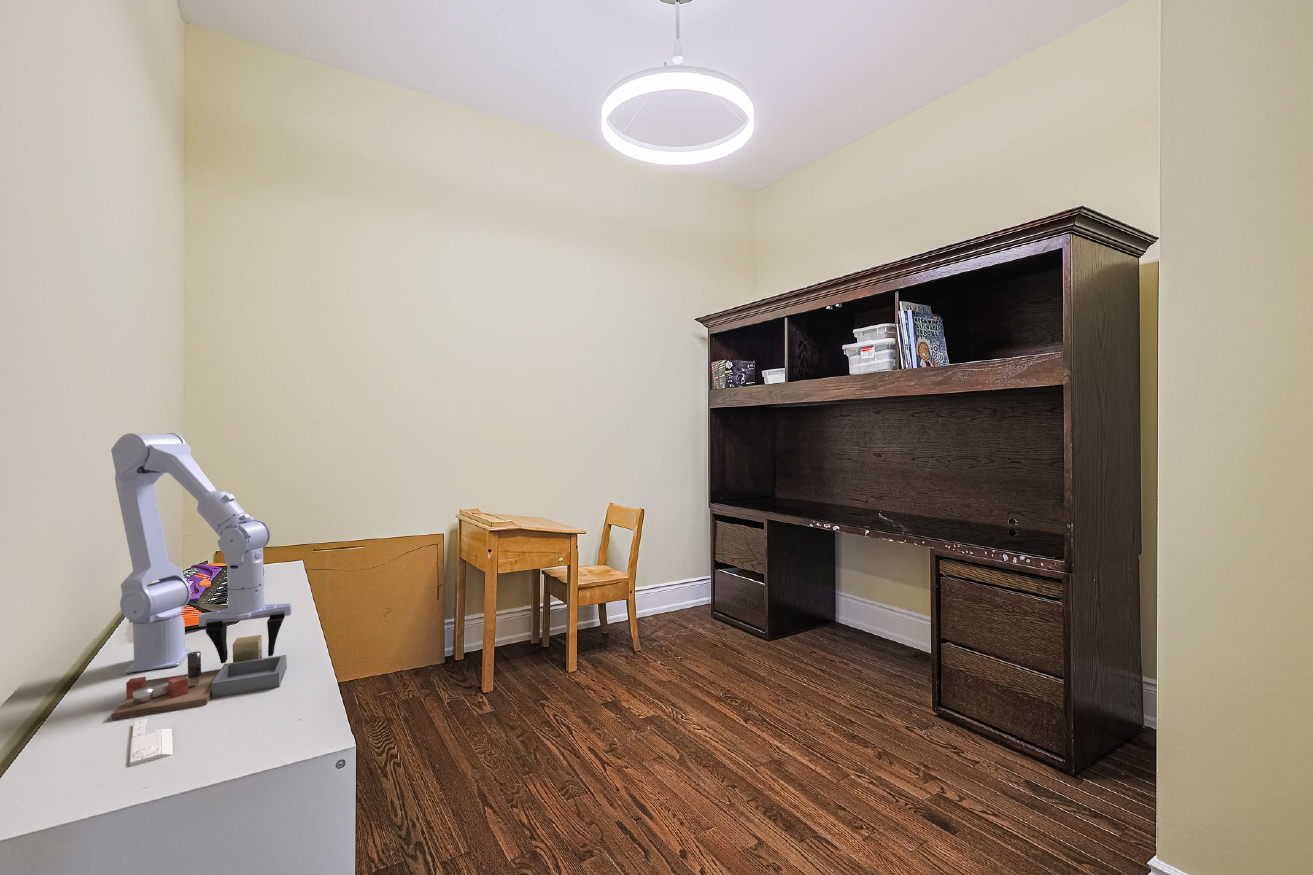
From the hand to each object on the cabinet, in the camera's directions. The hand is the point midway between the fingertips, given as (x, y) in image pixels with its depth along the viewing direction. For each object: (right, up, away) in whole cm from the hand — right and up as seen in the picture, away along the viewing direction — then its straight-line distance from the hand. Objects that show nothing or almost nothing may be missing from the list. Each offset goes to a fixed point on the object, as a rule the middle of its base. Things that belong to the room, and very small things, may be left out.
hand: (247, 657), depth 116 cm
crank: (-4, 0, -14) cm, 15 cm away
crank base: (-4, -2, -13) cm, 14 cm away
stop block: (0, -2, 0) cm, 2 cm away
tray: (+6, -1, -8) cm, 10 cm away
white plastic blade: (+5, -2, -28) cm, 28 cm away
